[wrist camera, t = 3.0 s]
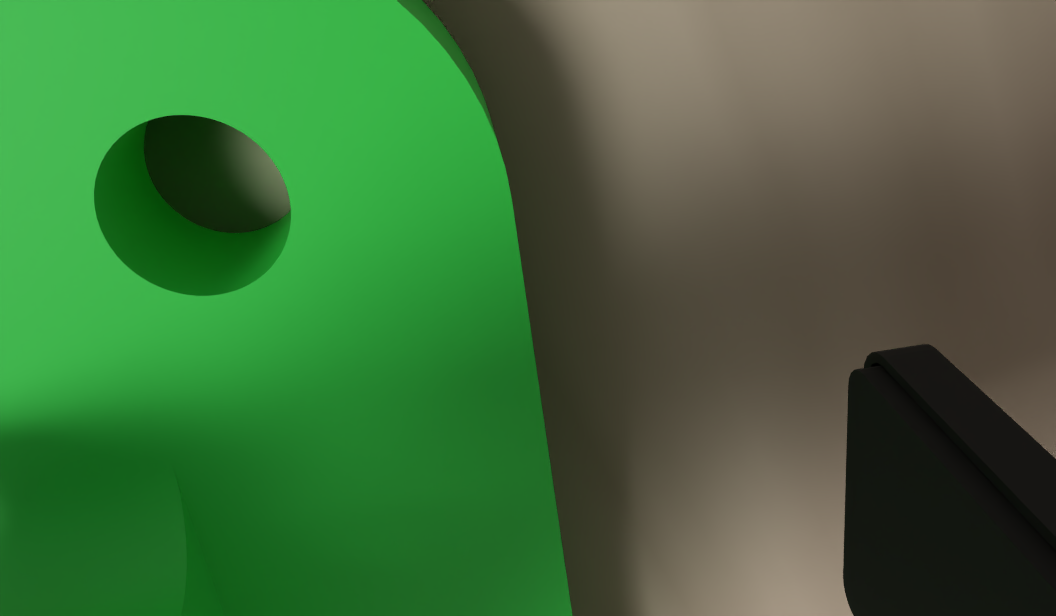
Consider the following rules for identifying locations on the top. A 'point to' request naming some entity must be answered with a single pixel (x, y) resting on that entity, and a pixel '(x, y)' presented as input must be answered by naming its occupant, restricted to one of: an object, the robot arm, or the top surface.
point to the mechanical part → (264, 325)
